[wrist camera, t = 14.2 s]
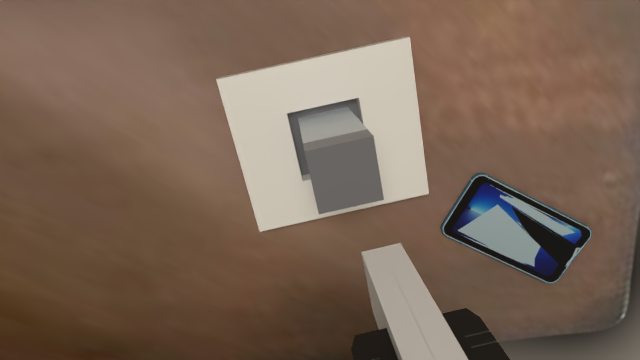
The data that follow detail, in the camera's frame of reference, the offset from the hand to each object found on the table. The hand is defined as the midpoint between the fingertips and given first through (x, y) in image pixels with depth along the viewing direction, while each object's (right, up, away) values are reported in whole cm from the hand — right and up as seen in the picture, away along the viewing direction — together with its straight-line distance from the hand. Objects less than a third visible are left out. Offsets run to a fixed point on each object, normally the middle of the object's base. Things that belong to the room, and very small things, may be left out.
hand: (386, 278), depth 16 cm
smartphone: (+18, -1, +28) cm, 33 cm away
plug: (-2, +8, +22) cm, 23 cm away
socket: (-2, +8, +22) cm, 23 cm away
